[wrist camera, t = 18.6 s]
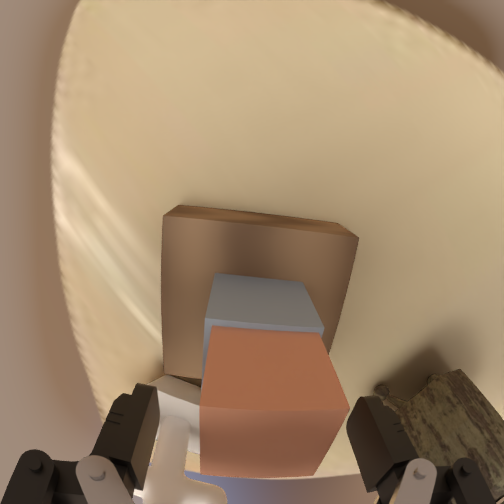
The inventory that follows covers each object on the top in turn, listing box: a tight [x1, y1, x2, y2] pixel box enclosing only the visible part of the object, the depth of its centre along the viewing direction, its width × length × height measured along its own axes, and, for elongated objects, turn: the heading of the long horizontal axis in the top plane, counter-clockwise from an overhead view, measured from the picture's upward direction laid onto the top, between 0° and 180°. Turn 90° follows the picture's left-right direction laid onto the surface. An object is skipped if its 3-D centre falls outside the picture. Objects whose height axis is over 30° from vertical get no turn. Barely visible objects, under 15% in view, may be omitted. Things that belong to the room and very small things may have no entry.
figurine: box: [133, 374, 227, 504], centre depth 17 cm, size 7×9×15 cm
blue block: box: [201, 273, 324, 391], centre depth 15 cm, size 5×5×5 cm
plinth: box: [161, 205, 359, 379], centre depth 19 cm, size 11×11×4 cm
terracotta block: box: [199, 325, 350, 478], centre depth 10 cm, size 4×4×4 cm
